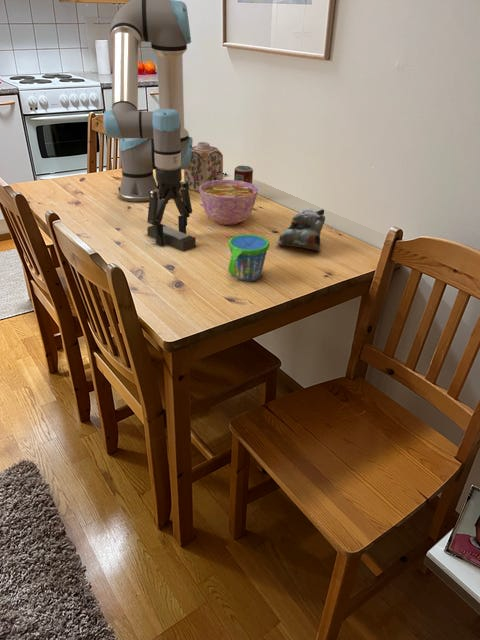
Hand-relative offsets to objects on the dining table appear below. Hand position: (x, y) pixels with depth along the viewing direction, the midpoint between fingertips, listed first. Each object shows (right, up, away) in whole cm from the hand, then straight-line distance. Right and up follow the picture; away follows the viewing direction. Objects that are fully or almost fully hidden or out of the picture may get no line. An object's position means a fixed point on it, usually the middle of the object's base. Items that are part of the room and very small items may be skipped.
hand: (171, 240), depth 153 cm
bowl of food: (+17, +9, +17) cm, 26 cm away
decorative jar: (+6, +29, +48) cm, 57 cm away
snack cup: (+24, -13, -19) cm, 33 cm away
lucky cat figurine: (+40, -2, 0) cm, 40 cm away
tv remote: (0, 0, 0) cm, 0 cm away
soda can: (+23, +22, +38) cm, 50 cm away
